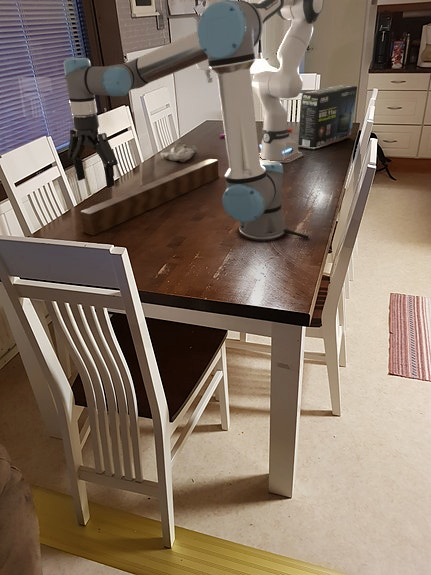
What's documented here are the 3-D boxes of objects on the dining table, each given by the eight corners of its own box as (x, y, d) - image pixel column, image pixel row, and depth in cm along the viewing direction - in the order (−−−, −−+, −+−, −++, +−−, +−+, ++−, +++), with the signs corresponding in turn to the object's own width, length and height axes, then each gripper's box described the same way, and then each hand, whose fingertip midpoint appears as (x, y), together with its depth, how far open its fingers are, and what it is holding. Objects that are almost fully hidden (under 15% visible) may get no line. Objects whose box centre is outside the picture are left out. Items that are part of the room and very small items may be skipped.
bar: (93, 235, 152) (89, 214, 148) (84, 232, 155) (80, 211, 151) (218, 177, 201) (218, 160, 197) (210, 175, 203) (209, 158, 199)
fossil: (184, 156, 217) (163, 136, 220) (174, 174, 223) (154, 154, 227) (205, 153, 231) (186, 134, 234) (195, 171, 237) (176, 152, 240)
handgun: (220, 136, 265) (220, 133, 264) (233, 135, 266) (233, 132, 265) (227, 145, 248) (227, 141, 247) (241, 143, 249) (241, 140, 248)
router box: (314, 151, 231) (318, 94, 217) (296, 148, 237) (299, 92, 224) (352, 138, 251) (358, 85, 238) (335, 135, 258) (340, 83, 245)
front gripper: (123, 116, 136) (132, 185, 147) (66, 109, 148) (78, 173, 159) (105, 121, 130) (115, 192, 142) (47, 113, 142) (61, 179, 153)
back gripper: (243, 44, 172) (242, 84, 179) (204, 43, 184) (205, 80, 191) (231, 44, 168) (231, 85, 175) (193, 44, 180) (194, 82, 187)
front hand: (95, 183), depth 150 cm, fingers open, 13 cm apart
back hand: (218, 83), depth 183 cm, fingers open, 8 cm apart
